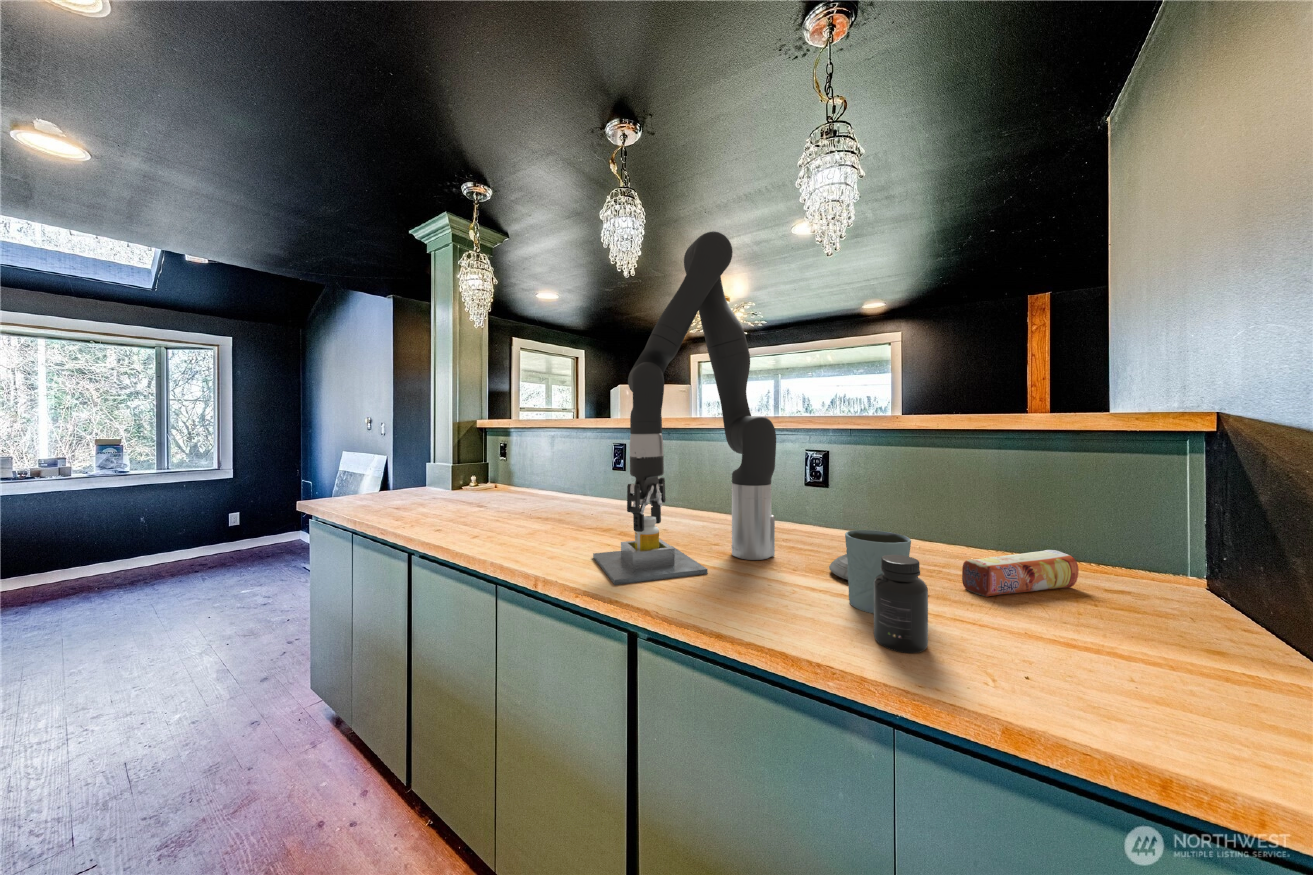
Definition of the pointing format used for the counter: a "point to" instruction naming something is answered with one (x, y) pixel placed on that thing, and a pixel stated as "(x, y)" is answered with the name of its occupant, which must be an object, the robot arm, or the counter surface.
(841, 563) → the flying saucer
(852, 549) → the grey-green cup
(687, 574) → the sleeve
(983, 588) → the snack package
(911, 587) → the supplement bottle
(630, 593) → the counter surface
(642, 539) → the supplement bottle
